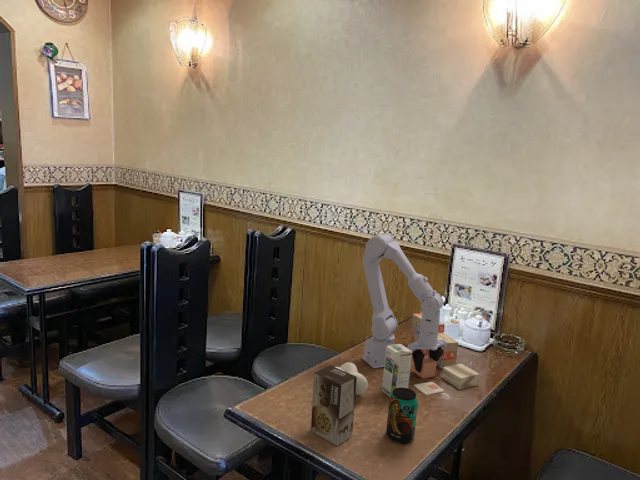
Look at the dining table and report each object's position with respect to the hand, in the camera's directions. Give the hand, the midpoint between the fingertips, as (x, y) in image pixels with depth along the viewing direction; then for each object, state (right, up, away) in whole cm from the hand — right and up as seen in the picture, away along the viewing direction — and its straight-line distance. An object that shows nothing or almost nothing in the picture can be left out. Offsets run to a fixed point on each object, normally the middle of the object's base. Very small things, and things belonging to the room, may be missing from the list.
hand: (424, 369), depth 155 cm
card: (-1, -3, -10) cm, 10 cm away
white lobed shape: (-27, -3, -17) cm, 32 cm away
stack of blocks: (+6, +1, +16) cm, 17 cm away
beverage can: (-14, -7, -35) cm, 39 cm away
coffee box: (-32, -6, -36) cm, 48 cm away
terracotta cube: (0, -1, 0) cm, 2 cm away
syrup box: (-12, -4, -14) cm, 19 cm away
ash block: (+11, -3, -3) cm, 11 cm away
